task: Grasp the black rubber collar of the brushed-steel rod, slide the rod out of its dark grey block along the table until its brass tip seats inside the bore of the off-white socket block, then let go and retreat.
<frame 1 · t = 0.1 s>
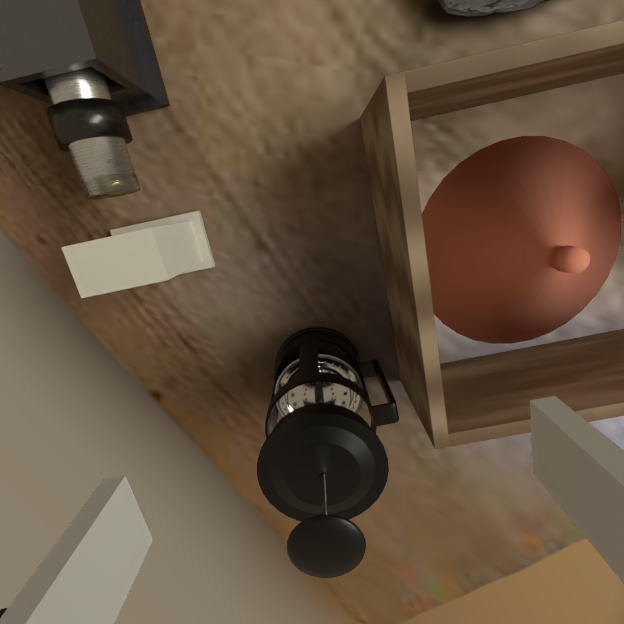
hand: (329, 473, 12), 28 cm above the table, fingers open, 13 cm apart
dark grey block: (101, 48, 33), on the table
socket: (164, 248, 38), on the table
ceramic vessels: (582, 219, 37), resting in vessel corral
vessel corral: (588, 220, 37), on the table
rod: (76, 83, 28), point 6 cm above the table, slide at 0.0 cm
french press: (322, 365, 42), on the table
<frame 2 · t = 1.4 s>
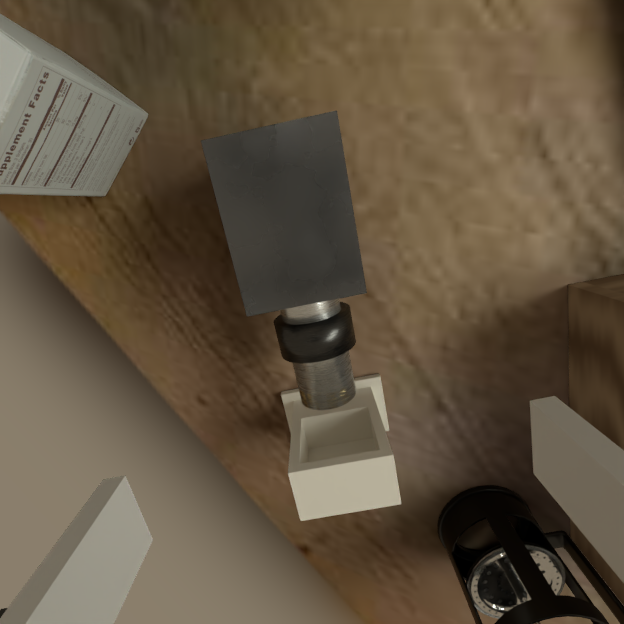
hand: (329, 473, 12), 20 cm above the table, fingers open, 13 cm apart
dark grey block: (295, 215, 30), on the table
socket: (335, 409, 34), on the table
supplement box: (87, 128, 28), on the table
rod: (306, 288, 25), point 6 cm above the table, slide at 0.0 cm
french press: (487, 520, 38), on the table
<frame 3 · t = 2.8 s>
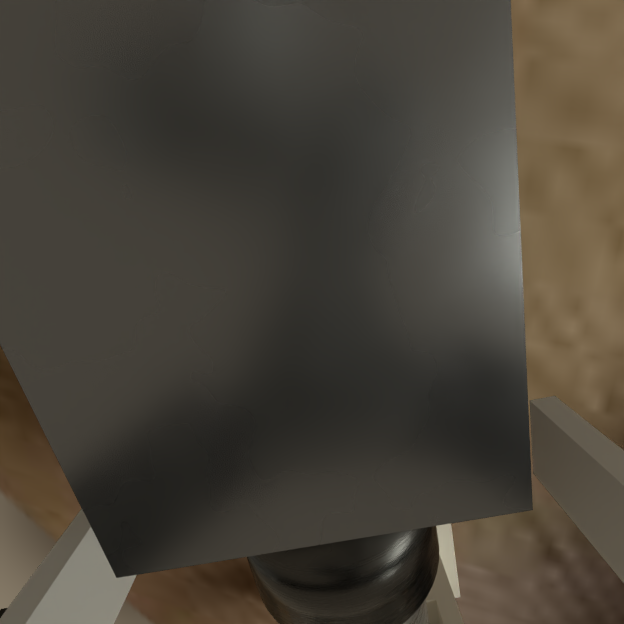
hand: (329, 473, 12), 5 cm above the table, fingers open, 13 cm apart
dark grey block: (288, 218, 14), on the table
socket: (364, 560, 19), on the table
rod: (313, 415, 9), point 6 cm above the table, slide at 0.0 cm
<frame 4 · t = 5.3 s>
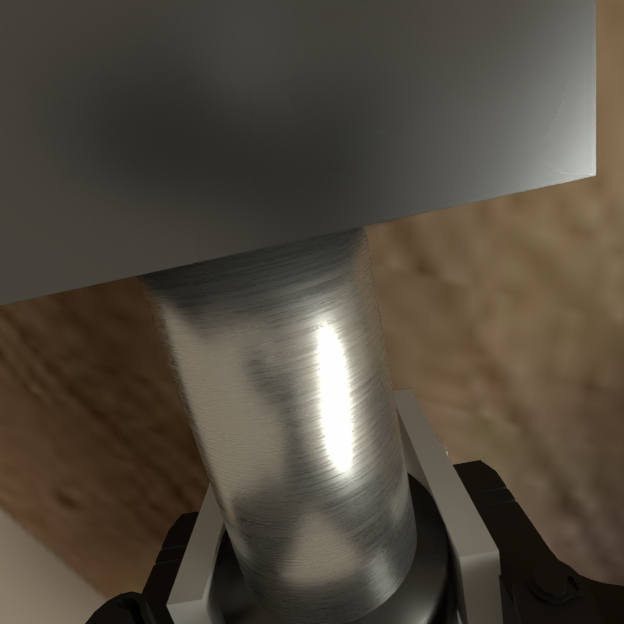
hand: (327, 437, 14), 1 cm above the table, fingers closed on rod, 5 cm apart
dark grey block: (243, 63, 12), on the table
rod: (310, 466, 8), point 7 cm above the table, slide at 5.3 cm, touching gripper
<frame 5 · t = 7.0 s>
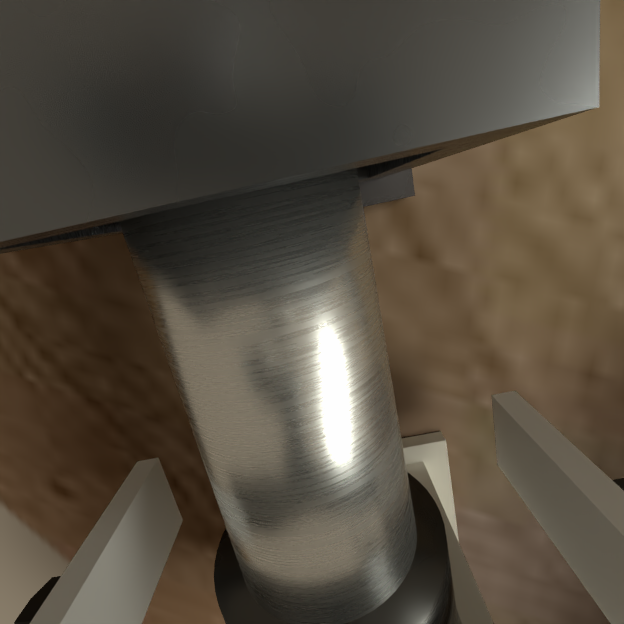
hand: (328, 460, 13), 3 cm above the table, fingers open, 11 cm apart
dark grey block: (239, 43, 11), on the table
socket: (345, 504, 16), on the table
rod: (310, 466, 8), point 7 cm above the table, slide at 5.8 cm
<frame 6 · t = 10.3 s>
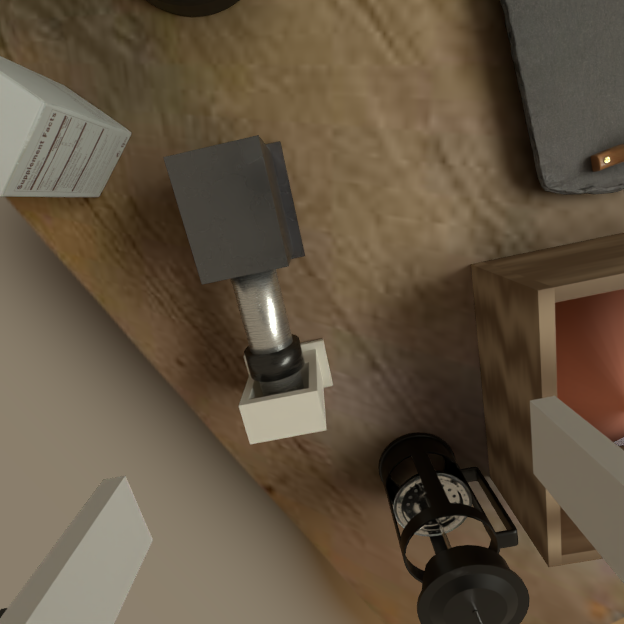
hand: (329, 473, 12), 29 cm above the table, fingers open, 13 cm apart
dark grey block: (249, 210, 37), on the table
socket: (289, 369, 42), on the table
supplement box: (84, 144, 36), on the table
rod: (267, 327, 34), point 7 cm above the table, slide at 5.8 cm
french press: (419, 463, 46), on the table
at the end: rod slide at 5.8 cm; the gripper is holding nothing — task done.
